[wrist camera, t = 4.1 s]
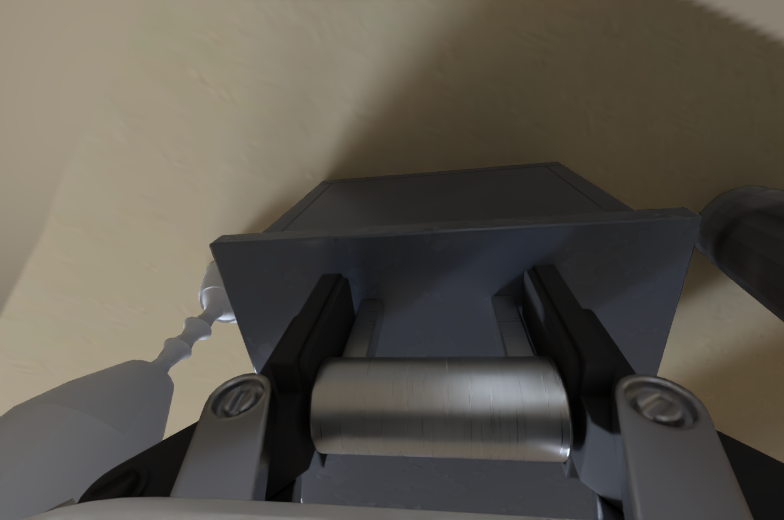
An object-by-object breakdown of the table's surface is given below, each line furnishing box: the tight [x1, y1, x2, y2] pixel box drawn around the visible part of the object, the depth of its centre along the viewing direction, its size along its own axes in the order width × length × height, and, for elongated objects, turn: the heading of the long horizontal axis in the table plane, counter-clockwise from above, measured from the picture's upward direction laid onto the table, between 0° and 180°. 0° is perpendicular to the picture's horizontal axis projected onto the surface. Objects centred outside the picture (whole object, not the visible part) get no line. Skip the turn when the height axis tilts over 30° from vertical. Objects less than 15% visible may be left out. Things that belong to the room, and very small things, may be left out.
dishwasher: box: [263, 162, 633, 233], centre depth 20 cm, size 17×14×11 cm
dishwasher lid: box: [210, 207, 703, 520], centre depth 12 cm, size 18×14×6 cm
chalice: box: [0, 261, 237, 520], centre depth 18 cm, size 7×7×18 cm
